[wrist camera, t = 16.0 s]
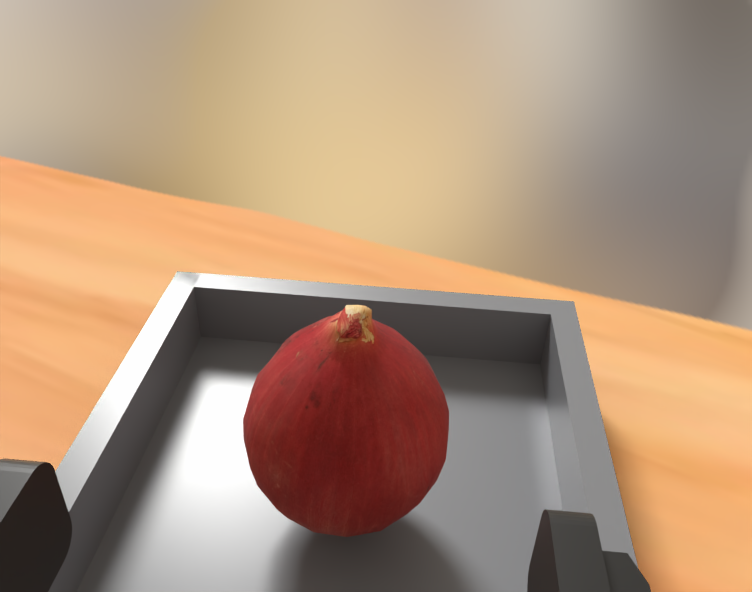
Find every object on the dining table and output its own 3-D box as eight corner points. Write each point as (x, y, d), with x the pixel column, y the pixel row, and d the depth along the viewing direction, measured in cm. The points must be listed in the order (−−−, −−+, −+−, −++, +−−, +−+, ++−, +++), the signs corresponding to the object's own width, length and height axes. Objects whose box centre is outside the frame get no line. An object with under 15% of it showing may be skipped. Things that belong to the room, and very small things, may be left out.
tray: (-60, 824, 16) (-117, 753, 14) (187, 339, 31) (177, 271, 29) (659, 915, 15) (707, 854, 13) (558, 369, 30) (573, 301, 28)
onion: (217, 493, 23) (192, 284, 18) (362, 421, 26) (371, 226, 21) (318, 634, 19) (319, 415, 14) (473, 530, 22) (514, 322, 17)
